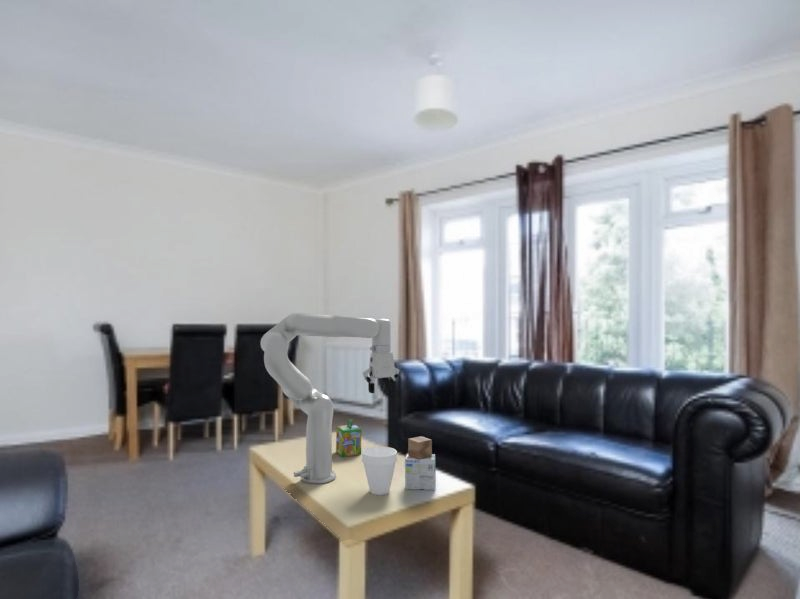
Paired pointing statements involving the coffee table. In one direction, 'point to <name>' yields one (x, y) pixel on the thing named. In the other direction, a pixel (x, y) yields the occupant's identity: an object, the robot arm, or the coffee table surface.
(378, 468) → the cup
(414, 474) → the light bulb box
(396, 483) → the coffee table surface
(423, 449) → the walnut block
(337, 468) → the coffee table surface
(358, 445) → the chalk box
